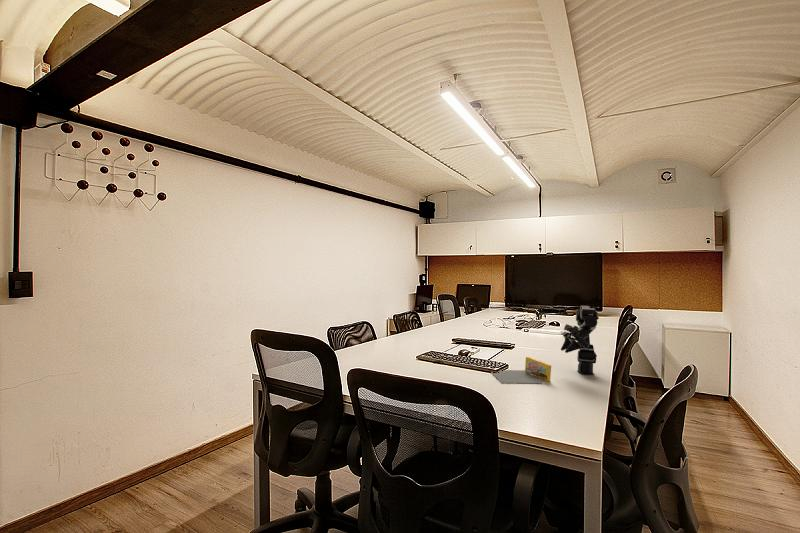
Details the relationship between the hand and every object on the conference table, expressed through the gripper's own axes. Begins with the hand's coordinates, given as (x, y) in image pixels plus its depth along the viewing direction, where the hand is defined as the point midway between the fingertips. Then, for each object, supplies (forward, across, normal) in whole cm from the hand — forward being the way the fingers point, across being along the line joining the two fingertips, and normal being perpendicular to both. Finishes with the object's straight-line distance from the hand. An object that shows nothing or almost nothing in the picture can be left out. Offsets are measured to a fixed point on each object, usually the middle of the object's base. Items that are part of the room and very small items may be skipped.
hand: (563, 351), depth 201 cm
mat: (+28, 0, -8) cm, 29 cm away
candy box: (+19, 0, 0) cm, 19 cm away
